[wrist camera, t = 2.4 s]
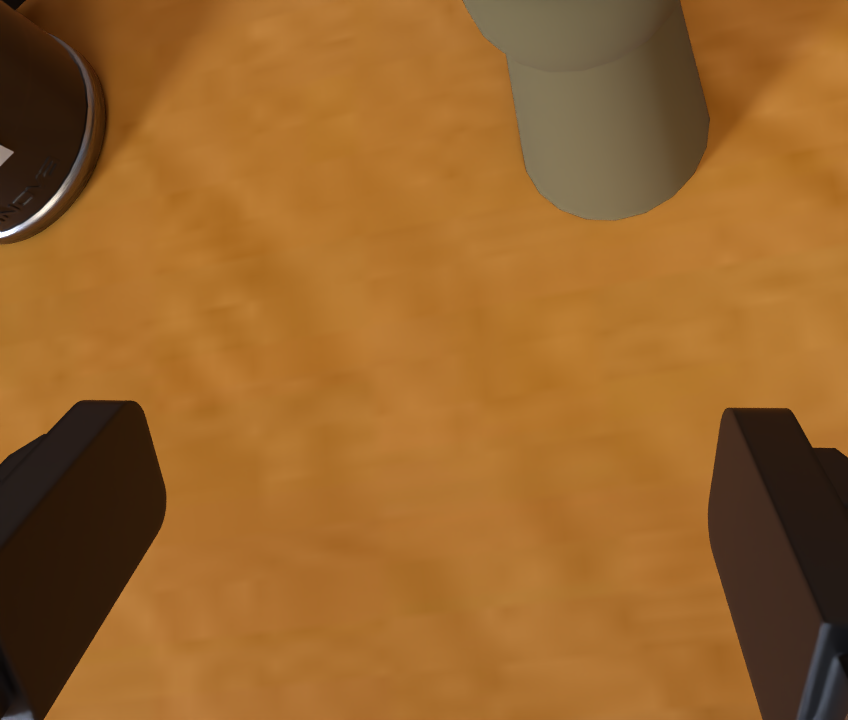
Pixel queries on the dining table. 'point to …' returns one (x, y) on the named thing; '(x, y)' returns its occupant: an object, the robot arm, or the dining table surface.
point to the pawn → (601, 99)
